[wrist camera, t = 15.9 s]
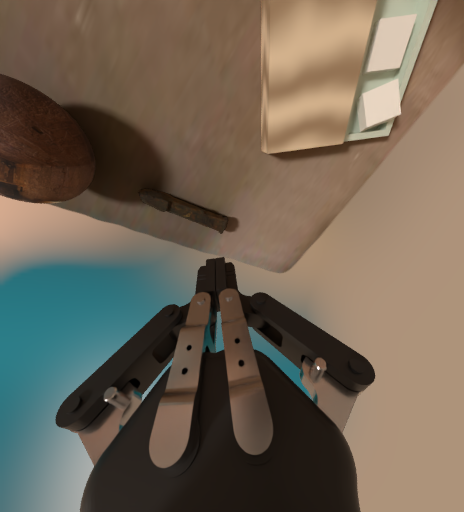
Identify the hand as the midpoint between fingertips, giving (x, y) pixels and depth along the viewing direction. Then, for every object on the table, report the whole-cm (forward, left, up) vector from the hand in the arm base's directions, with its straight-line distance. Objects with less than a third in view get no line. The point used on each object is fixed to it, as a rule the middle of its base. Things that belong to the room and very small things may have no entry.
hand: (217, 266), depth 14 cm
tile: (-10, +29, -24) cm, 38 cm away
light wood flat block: (-14, +16, -27) cm, 35 cm away
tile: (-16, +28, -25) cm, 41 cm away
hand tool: (+4, -7, -28) cm, 29 cm away
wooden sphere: (-10, -25, -27) cm, 38 cm away
